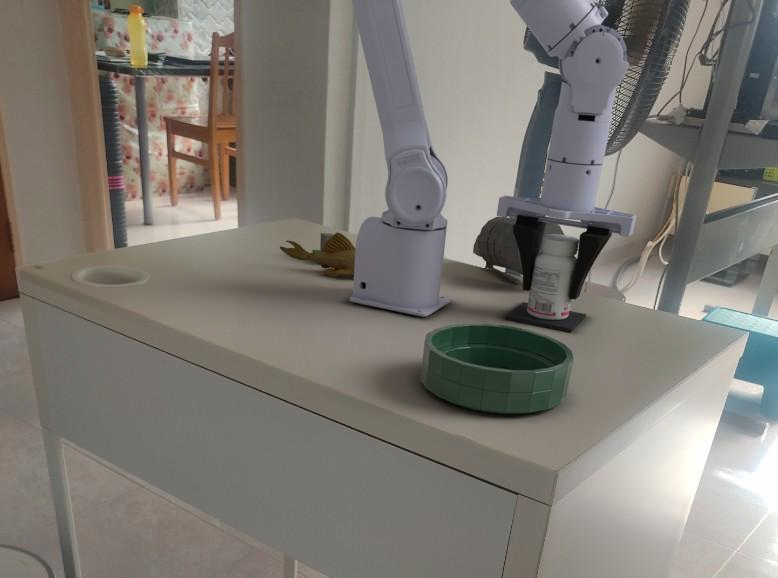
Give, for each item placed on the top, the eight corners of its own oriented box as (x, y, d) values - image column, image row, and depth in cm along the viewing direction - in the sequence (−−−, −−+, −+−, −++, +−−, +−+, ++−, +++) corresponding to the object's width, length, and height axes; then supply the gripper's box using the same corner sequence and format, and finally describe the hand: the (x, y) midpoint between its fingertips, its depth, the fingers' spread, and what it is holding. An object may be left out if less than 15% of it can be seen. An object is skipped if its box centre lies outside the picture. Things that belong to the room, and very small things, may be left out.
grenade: (512, 288, 102) (457, 273, 115) (568, 290, 105) (509, 275, 118) (521, 218, 99) (464, 210, 112) (579, 222, 102) (517, 214, 115)
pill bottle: (553, 307, 98) (567, 232, 93) (576, 320, 94) (592, 242, 89) (518, 309, 96) (530, 232, 92) (539, 321, 92) (554, 242, 88)
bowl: (397, 395, 71) (401, 350, 69) (450, 355, 81) (455, 314, 79) (542, 431, 67) (551, 384, 65) (579, 384, 77) (588, 342, 75)
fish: (378, 288, 102) (383, 247, 100) (272, 266, 104) (274, 225, 101) (386, 277, 106) (392, 237, 104) (284, 256, 108) (287, 216, 105)
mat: (504, 319, 94) (505, 315, 93) (522, 305, 99) (523, 301, 99) (571, 332, 91) (571, 328, 91) (585, 317, 97) (586, 314, 96)
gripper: (496, 155, 86) (478, 288, 93) (638, 174, 81) (607, 313, 88) (516, 150, 91) (497, 276, 98) (650, 167, 87) (620, 298, 94)
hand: (550, 293), depth 94 cm, fingers closed on pill bottle, 5 cm apart
